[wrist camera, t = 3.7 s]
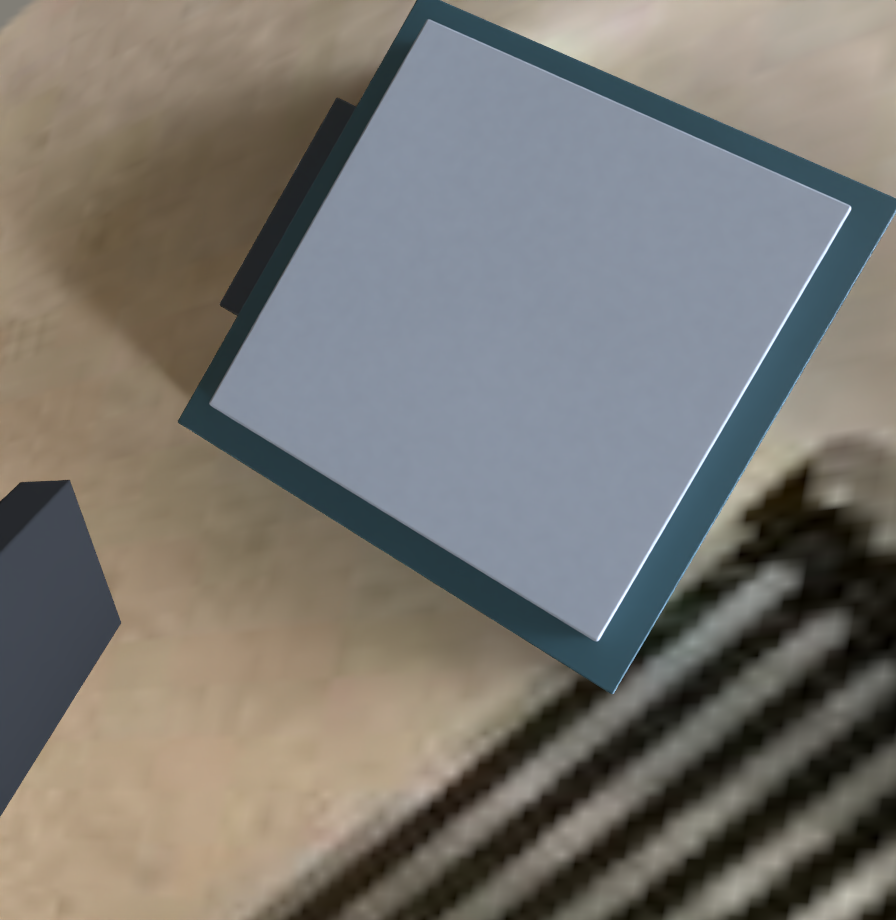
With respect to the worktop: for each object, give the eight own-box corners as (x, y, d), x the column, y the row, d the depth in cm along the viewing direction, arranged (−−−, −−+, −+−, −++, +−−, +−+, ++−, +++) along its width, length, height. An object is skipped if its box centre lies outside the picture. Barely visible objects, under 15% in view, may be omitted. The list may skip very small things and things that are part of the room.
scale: (202, 419, 25) (133, 400, 21) (416, 44, 24) (384, -42, 21) (610, 672, 22) (613, 702, 18) (860, 245, 21) (917, 186, 18)
